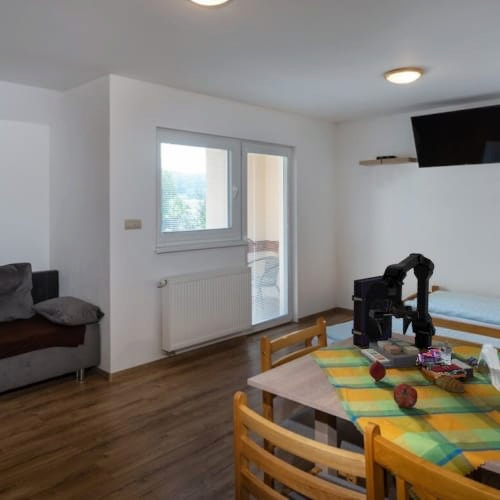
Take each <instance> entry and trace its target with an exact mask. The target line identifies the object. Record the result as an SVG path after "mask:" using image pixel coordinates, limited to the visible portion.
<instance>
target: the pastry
mask: <svg viewBox="0 0 500 500" xmlns="http://www.w3.org/2000/svg"><path fill="white" fill-rule="evenodd" d="M435 384H436V385H437V386H438V387H439V388H441V389H443V390H446V391H448V392H453V393H463V392H465V390H466V386H465V384H464V383H463V382H462V381H460V380H458V379H457V378H456V379H455V378H452V377H451V376H446V375H441V376H440V377H438V379H437V380H436V383H435Z"/></svg>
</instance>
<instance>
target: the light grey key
mask: <svg viewBox="0 0 500 500" xmlns="http://www.w3.org/2000/svg"><path fill="white" fill-rule="evenodd" d="M389 345H392V343H391V342H389V341H388V340H382V341H378V347H379V348H381V349H385V346H389Z"/></svg>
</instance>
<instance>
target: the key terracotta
mask: <svg viewBox="0 0 500 500" xmlns="http://www.w3.org/2000/svg"><path fill="white" fill-rule="evenodd" d="M385 351H386V352H387V353H389V354H398V353H400V348H399V347H397V346H396V345H389V346H385Z"/></svg>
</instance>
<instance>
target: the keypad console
mask: <svg viewBox="0 0 500 500" xmlns="http://www.w3.org/2000/svg"><path fill="white" fill-rule="evenodd" d="M368 347H369V348H367V349H365V348H364V349H358V350H357V353H358V352H359V353H360V354H361V355H360V354H359V353H358V354H359V355H360V356H362V355H363V356H364V357H365V359H366V358H367V359H368V360H367V359H366V360H367V361H369V362H370V361H371V362H372V363H371V362H370V363H371V364H373V363H375V362H376V360H378V361H379V362H380V363H381V364H382V365H383V366H384V367H385V368H386V369H394V368H395V369H396V367H398V368H407V367H406V366H410V367H416V366H415V365H416V360H417V357H418V355H407V354H405V353H404V352H403V350H402V351H400V353H398V354H389V353H387V352H386V351H385V349H381V348H379V347H378V342H373V343H369V345H368ZM363 356H362V357H363ZM364 357H363V358H364Z"/></svg>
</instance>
